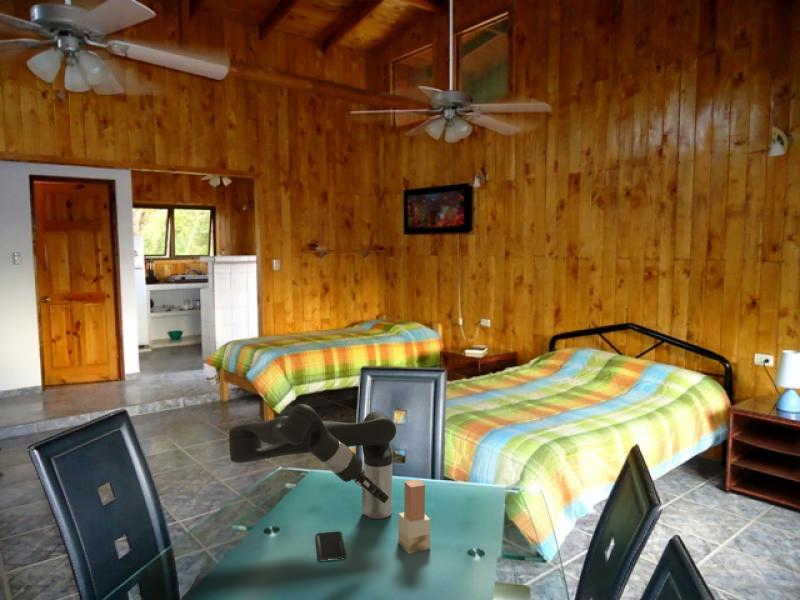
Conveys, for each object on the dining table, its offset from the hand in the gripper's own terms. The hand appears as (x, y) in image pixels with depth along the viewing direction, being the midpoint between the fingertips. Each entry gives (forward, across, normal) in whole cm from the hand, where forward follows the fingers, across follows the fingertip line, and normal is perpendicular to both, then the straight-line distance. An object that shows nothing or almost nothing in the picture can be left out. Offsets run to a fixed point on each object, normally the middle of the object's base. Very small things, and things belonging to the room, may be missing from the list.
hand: (380, 494), depth 162 cm
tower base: (+20, -1, -5) cm, 21 cm away
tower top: (+17, -1, -2) cm, 17 cm away
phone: (+4, -10, -21) cm, 24 cm away
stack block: (+14, -1, +1) cm, 14 cm away
